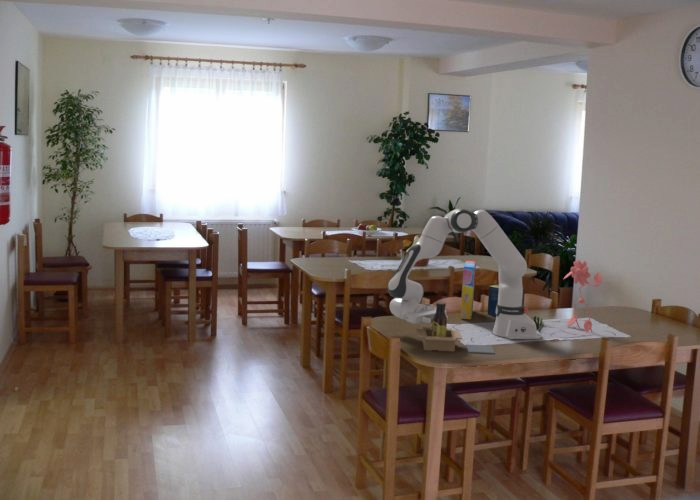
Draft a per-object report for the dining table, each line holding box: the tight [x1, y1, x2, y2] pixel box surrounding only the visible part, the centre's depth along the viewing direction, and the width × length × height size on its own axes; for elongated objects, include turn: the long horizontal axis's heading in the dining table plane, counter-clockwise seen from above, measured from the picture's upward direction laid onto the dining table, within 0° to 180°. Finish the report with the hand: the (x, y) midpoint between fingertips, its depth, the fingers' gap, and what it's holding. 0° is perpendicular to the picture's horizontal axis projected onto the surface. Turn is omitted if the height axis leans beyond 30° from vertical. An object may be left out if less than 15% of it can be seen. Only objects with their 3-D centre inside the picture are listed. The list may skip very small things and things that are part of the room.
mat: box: [465, 343, 496, 355], centre depth 324 cm, size 11×11×1 cm
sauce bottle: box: [431, 301, 448, 337], centre depth 325 cm, size 7×6×20 cm
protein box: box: [487, 283, 526, 318], centre depth 387 cm, size 10×15×16 cm
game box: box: [459, 260, 477, 320], centre depth 385 cm, size 21×6×27 cm, turn 168°
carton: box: [415, 326, 463, 352], centre depth 326 cm, size 19×19×6 cm
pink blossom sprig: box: [558, 259, 603, 337], centre depth 361 cm, size 15×26×35 cm, turn 26°
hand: (439, 319), depth 325 cm, fingers open, 8 cm apart
